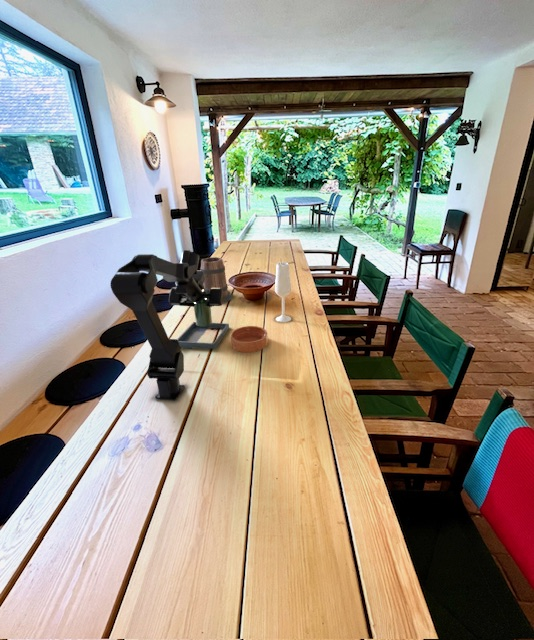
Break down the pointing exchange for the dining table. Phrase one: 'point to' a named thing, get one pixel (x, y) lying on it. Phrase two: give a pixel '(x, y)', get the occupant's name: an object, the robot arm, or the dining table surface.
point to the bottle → (202, 313)
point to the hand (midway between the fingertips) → (203, 305)
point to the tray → (195, 333)
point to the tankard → (215, 276)
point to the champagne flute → (283, 287)
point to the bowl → (249, 339)
